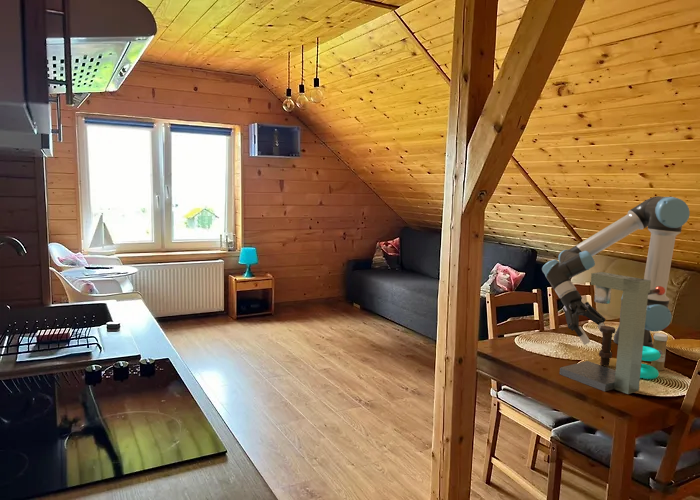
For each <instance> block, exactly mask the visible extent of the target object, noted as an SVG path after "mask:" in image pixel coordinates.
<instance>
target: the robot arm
mask: <svg viewBox="0 0 700 500" xmlns="http://www.w3.org/2000/svg"><path fill="white" fill-rule="evenodd" d="M690 214H691V213H690V207H689V206H688V204H687V203H686V202H685V201H684V200H683V199H680V198H678V197H675V196H657V195H656V196H652V197H650V198H647V199H645V200H644V201H643V202H641V203H639V204H638V205H636V206H634V207H633V208H631V209H629V210H628V211H627V214H626V215H624V216H622V217H620V218H619V219H618V220H616V221H614V222H612V223H611V224H609V225H607V226H606V227H604V228H603V229H601V230H599V231H598V232H596V233H594V234H593V235H591V236H590V237H588V238H586V239H584V240H583V241H581V242H580V243H577V244H575V246H573V247H571V248H569V249H564V250H562V251H561V252H560V253H559V254H558V258H557V259H552V260H549V261H547V262H546V263H545V264H544V265H543V266H542V267H541V271H542V273H543V274H544V276H545V278H546V279H547V281H548V282H549V284H550V286H551V288H552V289H553V290H554V291H555V293H556V295H557V296H558V298H559V299H560V301H561V303H562V305H563V307H562V308H561V309H562V311H563V313H564V316H565V321H566V324H567V328H568V329H569V330H571V331H574V332H575V334H576V335H577V337H578V338H580V339H579V340H580V341H581V342H582V344H583V346H584V345H587V344H588V343H590V342H591V340H590V339H589V337H588V334H586V332H585V330H584V329H583V328H582V326H581V325H580V326H579V324H580V320H579V319H580V318H579V317H580V316H583V317H586V318H587V319H589V320H591V321H592V322H593V323H595V324H597V326H596V327H597V328H598V330H599V331H600V327H601V326H606V323H605V322H606V318H605V317H604V315H602V314H601V313H599V311H597V309H595V308H594V307H593V306H592V305H591V303H590V302H589V301H586V302H585V303H584V302H583V301H582V299H583V296H582V295H581V294H580V292H579V290H577V287H576V286H575V284H574V283H573V282H572V280H571V278H574V277H576V276H577V275H580V274H582V273H584V272H586V271H589V270H590V269H592V268H594V267H595V265H596V262H595V259H594V257H593V256H595V255H597V254H598V253H600V252H602V251H604V250H605V249H607V248H609V247H611V246H613V245H614V244H615V243H617V242H619V241H621V240H623V239H624V238H626V237H628V236H629V235H631V234H632V233H634V232H636V231H638V230H644V229H646V228H647V230H648V231H649V232H650V237H649V238H650V239H649V244H648V245H649V246H648V251H647V252H648V253H647V257H646V263H645V270H644V274H643V275H644V276H643V279H645V280H651V286H650V290H652V289H655V288H656V287H657V286H662V287H664V288H665V293H664V294H663V295H657V294H651V295H648V300H647V311H646V321H645V331H644V341H643V346H646V347H651V348H653V342H654V340H653V337H652V335H651V332H652V333H653V332H655V333H656V332H660V331H663V330H664V329H666V328H667V327H668V326H669V325H670V323H671V321H672V320H673V319H672V312H671V310H670V309H669V304H670V298H669V297H668V296H667V295H666V294H667V289H668V284H669V278H670V272H671V265H672V261H673V255H674V249H675V242H676V239H677V236H678V235H679V234H681V233H682V229H683V226H684V225H685V224H686V223H687V222H688V220H689V218H690ZM622 296H623V293H622ZM622 296H621V299H620V300H621V301H620V308H621V307H622ZM619 312H620V313H619V319H620V318H621V311H619ZM619 329H620V322H619V323H618V327H617V329H616V330H615V333H614V335H613V339H612V340H613V342H614V343H615V344H617V345H618V340H619ZM600 333H601V334H602V333H603V332H601V331H600Z"/></svg>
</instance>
